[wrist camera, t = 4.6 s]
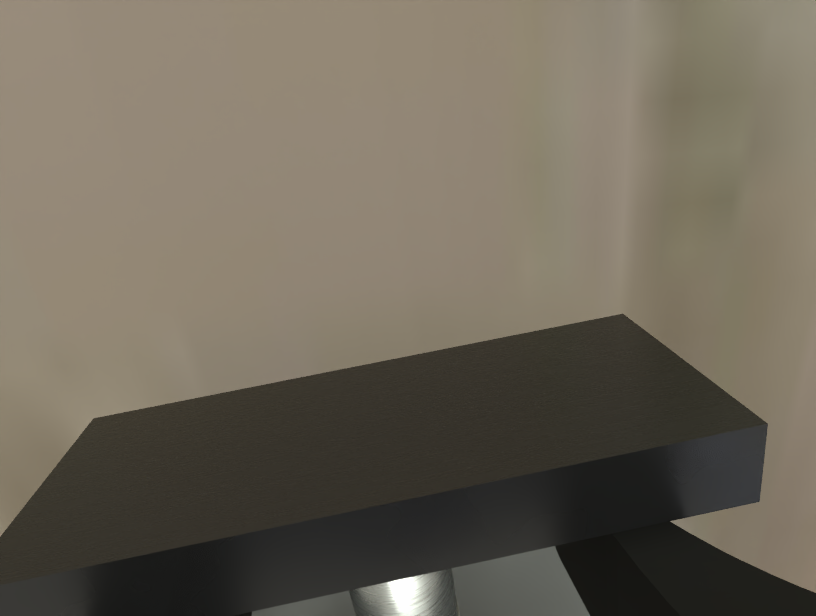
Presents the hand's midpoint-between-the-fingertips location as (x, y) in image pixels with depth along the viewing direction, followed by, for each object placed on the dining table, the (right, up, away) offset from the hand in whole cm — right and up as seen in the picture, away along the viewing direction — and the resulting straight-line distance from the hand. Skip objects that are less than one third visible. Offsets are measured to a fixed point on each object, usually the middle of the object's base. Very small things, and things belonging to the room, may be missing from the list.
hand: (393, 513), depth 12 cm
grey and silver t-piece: (+1, -6, +4) cm, 7 cm away
